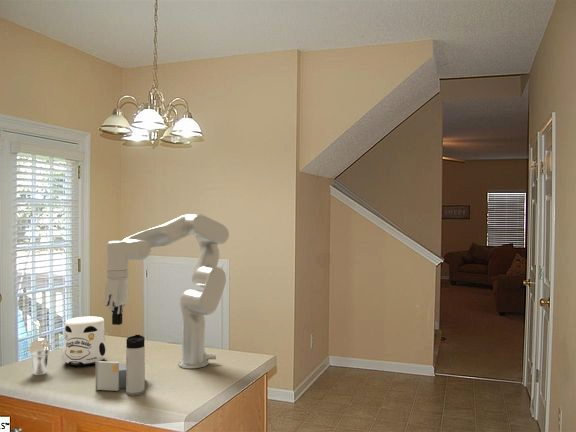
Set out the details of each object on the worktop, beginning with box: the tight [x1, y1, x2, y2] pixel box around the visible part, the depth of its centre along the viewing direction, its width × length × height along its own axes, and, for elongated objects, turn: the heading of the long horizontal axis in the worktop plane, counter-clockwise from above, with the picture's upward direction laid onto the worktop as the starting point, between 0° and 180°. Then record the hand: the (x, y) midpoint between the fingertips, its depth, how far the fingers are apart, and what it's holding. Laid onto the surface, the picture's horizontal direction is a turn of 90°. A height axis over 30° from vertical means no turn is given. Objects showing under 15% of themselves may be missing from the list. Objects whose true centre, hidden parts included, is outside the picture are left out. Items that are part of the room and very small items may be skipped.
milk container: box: [62, 315, 108, 367], centre depth 214 cm, size 17×17×18 cm
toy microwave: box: [119, 363, 126, 389], centre depth 187 cm, size 16×9×7 cm, turn 103°
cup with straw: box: [27, 320, 53, 376], centre depth 199 cm, size 8×9×20 cm
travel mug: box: [125, 334, 146, 397], centre depth 179 cm, size 6×7×20 cm
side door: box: [95, 360, 120, 392], centre depth 180 cm, size 9×2×10 cm, turn 83°
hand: (117, 324), depth 185 cm, fingers closed
